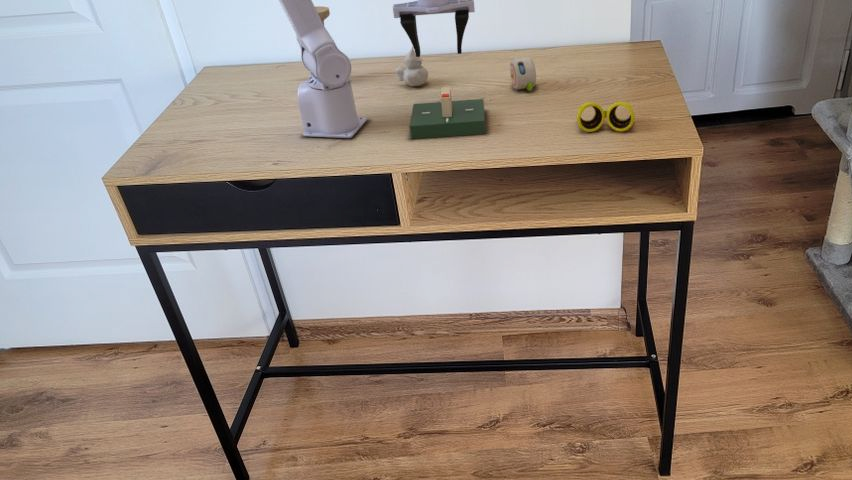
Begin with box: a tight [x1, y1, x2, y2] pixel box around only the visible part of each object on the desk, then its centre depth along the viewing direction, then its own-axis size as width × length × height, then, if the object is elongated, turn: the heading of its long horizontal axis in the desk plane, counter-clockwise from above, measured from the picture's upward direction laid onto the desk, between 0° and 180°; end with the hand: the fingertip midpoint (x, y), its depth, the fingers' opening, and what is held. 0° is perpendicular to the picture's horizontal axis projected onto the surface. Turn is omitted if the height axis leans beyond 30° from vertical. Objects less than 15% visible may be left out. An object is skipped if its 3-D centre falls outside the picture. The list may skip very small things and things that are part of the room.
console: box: [409, 98, 486, 140], centre depth 134 cm, size 13×10×3 cm
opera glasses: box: [576, 101, 636, 133], centre depth 129 cm, size 10×5×5 cm, turn 84°
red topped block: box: [440, 86, 453, 117], centre depth 132 cm, size 5×2×4 cm, turn 2°
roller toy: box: [509, 57, 537, 92], centre depth 146 cm, size 4×6×6 cm
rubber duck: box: [394, 46, 429, 87], centre depth 150 cm, size 5×7×8 cm
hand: (439, 53), depth 139 cm, fingers open, 7 cm apart
